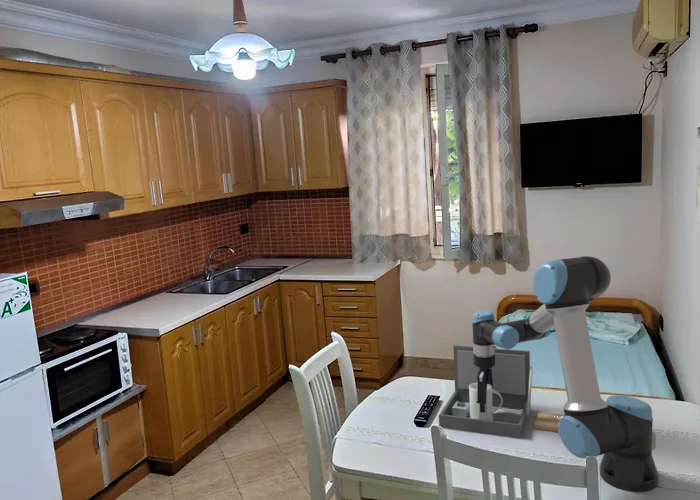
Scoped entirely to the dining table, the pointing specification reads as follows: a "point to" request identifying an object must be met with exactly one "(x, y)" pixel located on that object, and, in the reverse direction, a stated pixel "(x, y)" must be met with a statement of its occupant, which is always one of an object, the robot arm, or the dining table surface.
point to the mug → (475, 406)
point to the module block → (461, 409)
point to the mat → (547, 421)
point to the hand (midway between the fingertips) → (485, 414)
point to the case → (507, 380)
